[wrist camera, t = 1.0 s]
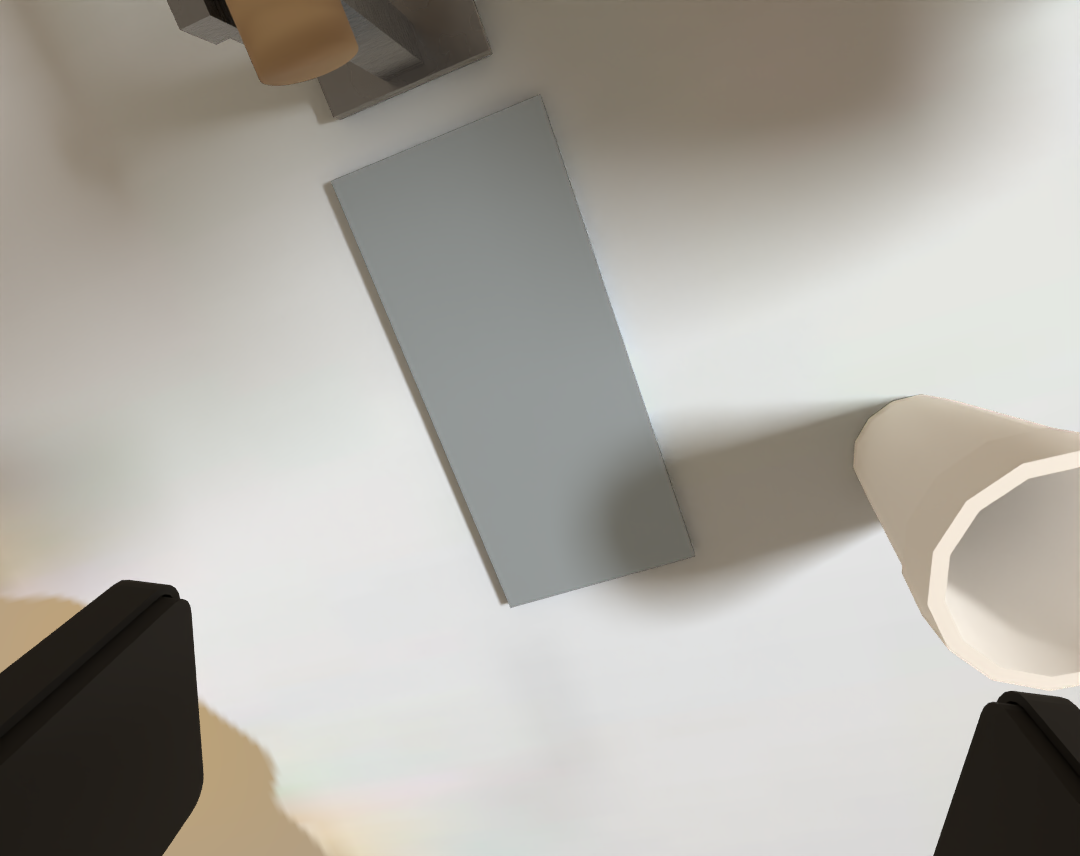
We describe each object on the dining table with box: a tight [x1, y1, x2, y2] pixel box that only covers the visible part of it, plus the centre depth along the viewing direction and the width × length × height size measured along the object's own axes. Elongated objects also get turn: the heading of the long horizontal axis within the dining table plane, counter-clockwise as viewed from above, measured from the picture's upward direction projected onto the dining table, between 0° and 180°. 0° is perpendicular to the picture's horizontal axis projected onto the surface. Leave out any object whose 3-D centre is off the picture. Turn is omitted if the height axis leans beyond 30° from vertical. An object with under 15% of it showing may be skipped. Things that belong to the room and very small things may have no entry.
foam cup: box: [853, 394, 1080, 691], centre depth 31 cm, size 10×9×13 cm
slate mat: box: [331, 95, 695, 608], centre depth 38 cm, size 11×25×1 cm, turn 20°
